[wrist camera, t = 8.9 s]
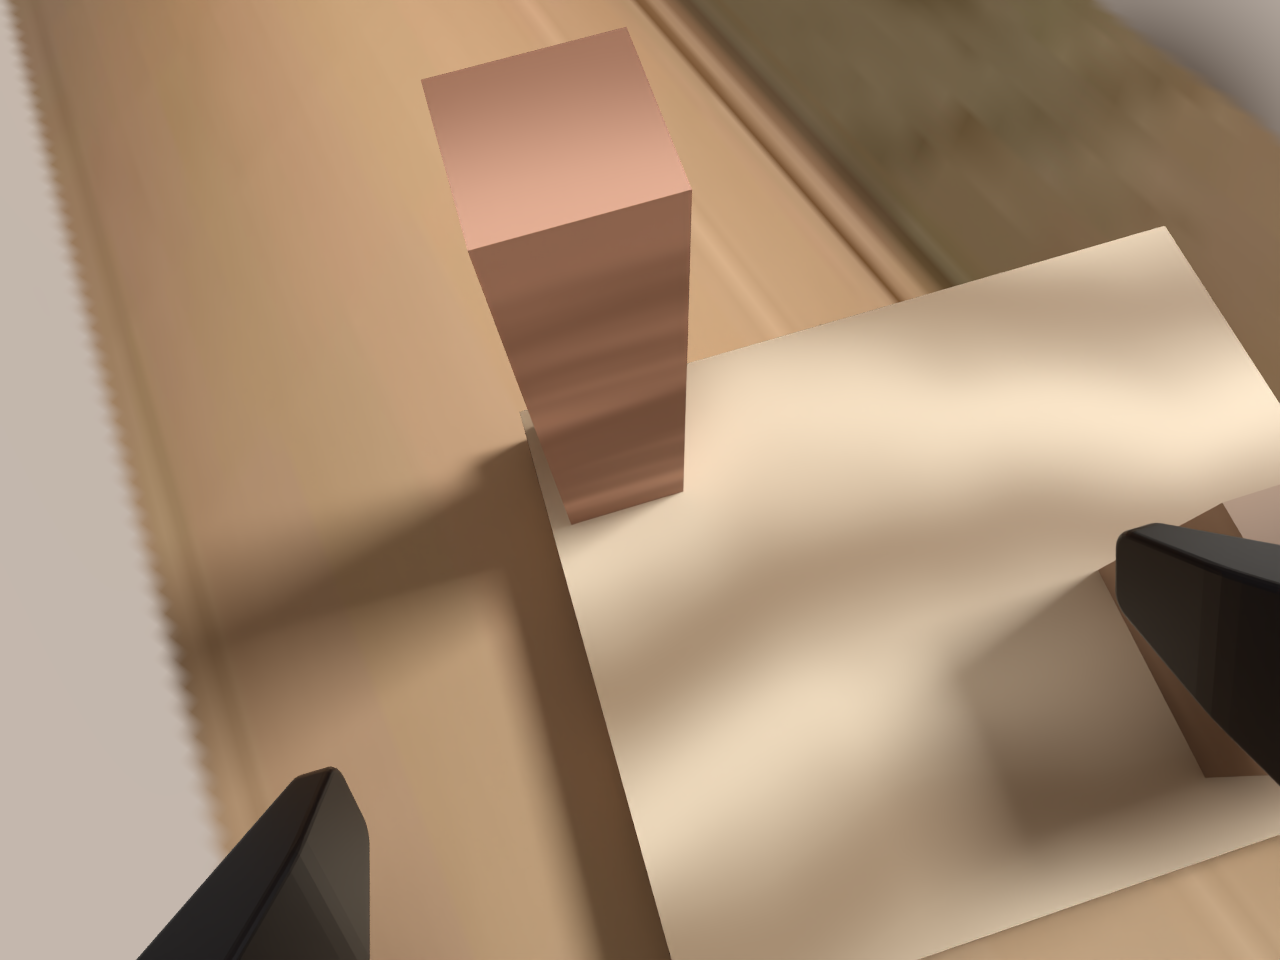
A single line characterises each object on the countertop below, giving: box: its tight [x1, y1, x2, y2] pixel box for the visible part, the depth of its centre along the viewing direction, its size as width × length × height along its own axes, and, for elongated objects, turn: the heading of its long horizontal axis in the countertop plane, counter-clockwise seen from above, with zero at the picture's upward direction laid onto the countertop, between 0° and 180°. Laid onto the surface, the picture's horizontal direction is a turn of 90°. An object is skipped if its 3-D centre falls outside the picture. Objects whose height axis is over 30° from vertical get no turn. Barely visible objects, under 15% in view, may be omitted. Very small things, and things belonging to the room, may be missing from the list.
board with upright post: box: [421, 27, 1280, 960], centre depth 16 cm, size 15×19×13 cm
